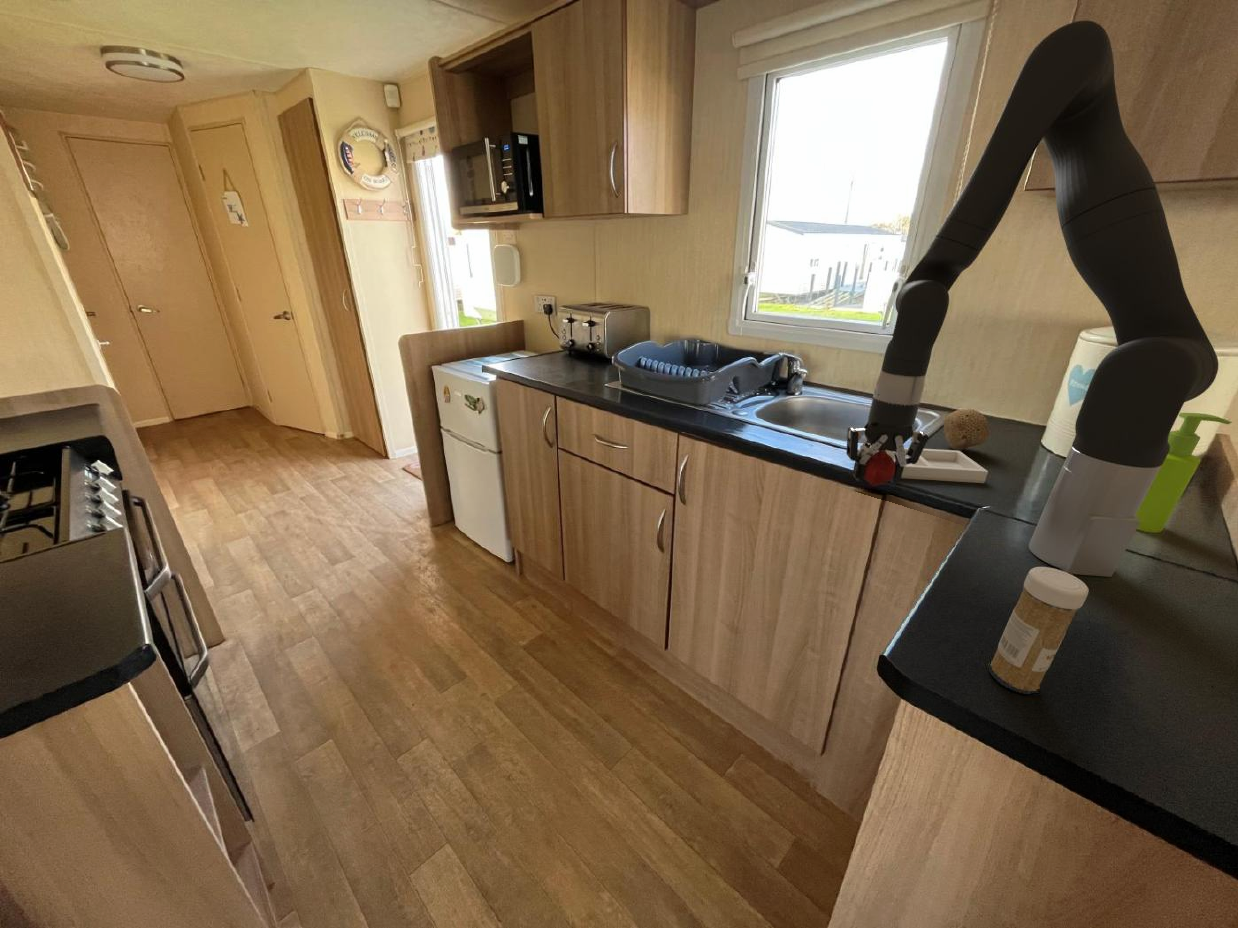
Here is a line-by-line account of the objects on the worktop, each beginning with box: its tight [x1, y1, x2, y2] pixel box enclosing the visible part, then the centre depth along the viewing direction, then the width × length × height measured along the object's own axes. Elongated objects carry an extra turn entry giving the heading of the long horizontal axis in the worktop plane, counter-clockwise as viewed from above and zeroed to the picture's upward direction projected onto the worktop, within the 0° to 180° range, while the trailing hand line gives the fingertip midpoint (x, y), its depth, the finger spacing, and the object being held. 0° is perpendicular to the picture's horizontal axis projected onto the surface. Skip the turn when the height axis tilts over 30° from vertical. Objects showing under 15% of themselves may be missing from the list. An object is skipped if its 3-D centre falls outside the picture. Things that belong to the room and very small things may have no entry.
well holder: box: [858, 444, 989, 484], centre depth 104 cm, size 11×21×3 cm, turn 84°
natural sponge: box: [943, 408, 991, 451], centre depth 112 cm, size 9×9×10 cm
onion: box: [863, 450, 896, 487], centre depth 93 cm, size 6×6×8 cm
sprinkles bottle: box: [989, 566, 1090, 692], centre depth 50 cm, size 5×5×13 cm
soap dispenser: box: [1135, 412, 1233, 534], centre depth 80 cm, size 6×7×20 cm
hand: (875, 480), depth 94 cm, fingers closed on onion, 5 cm apart
